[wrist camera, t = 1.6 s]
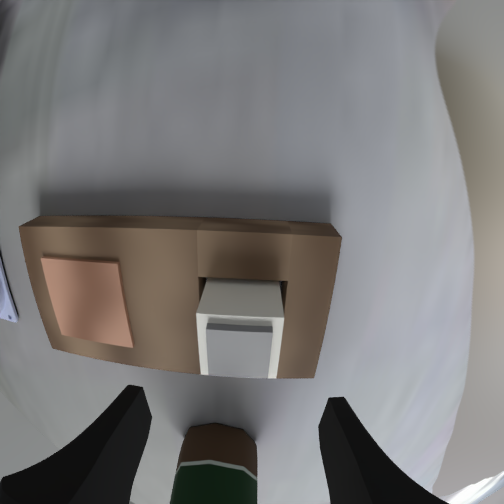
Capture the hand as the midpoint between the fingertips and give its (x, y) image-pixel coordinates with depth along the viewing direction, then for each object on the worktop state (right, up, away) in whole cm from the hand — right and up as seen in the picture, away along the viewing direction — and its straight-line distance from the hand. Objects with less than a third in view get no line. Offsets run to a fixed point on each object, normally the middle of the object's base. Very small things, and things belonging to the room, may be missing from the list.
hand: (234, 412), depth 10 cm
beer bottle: (-3, -13, +16) cm, 20 cm away
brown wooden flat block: (-5, +4, +9) cm, 11 cm away
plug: (0, +4, +9) cm, 10 cm away
